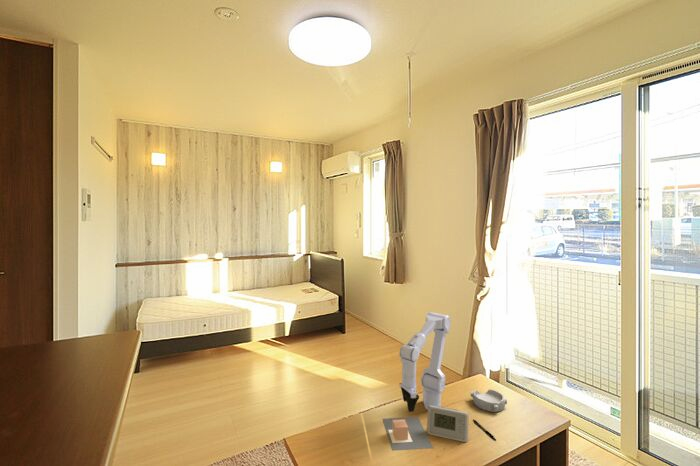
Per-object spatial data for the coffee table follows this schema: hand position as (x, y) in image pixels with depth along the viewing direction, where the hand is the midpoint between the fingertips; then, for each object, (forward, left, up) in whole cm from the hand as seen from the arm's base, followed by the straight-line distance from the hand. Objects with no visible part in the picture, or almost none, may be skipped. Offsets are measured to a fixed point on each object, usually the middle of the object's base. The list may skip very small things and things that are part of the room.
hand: (408, 406), depth 139 cm
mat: (+4, -2, -9) cm, 10 cm away
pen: (+4, +31, -10) cm, 33 cm away
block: (+6, -5, -8) cm, 12 cm away
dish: (-14, +43, -10) cm, 46 cm away
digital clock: (+6, +14, -10) cm, 19 cm away
